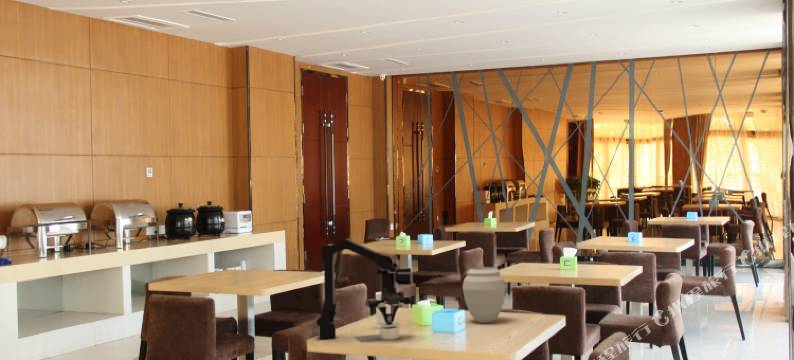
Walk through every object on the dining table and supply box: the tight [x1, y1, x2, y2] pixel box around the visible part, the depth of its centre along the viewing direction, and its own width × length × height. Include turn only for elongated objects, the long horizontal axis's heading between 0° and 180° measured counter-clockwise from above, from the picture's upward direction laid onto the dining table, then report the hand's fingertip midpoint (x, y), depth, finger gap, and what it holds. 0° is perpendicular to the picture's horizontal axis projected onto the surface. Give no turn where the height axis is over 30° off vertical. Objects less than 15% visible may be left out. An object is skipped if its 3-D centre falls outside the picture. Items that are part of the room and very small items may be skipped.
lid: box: [378, 313, 402, 327], centre depth 336 cm, size 8×8×5 cm
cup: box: [375, 291, 396, 330], centre depth 361 cm, size 8×8×16 cm
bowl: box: [379, 326, 400, 341], centre depth 336 cm, size 8×8×4 cm
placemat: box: [353, 333, 402, 343], centre depth 337 cm, size 17×14×1 cm
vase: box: [462, 266, 507, 324], centre depth 368 cm, size 20×20×24 cm
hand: (389, 322), depth 336 cm, fingers closed on lid, 2 cm apart
